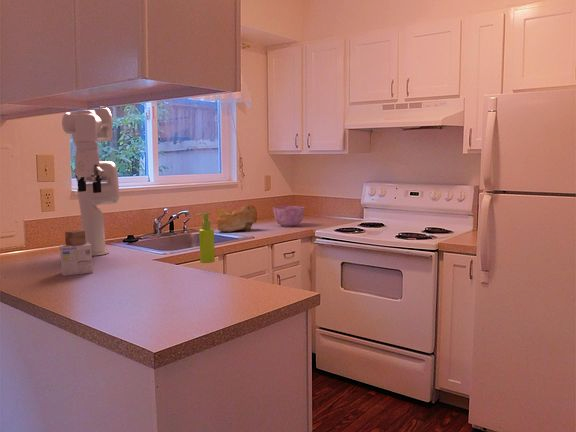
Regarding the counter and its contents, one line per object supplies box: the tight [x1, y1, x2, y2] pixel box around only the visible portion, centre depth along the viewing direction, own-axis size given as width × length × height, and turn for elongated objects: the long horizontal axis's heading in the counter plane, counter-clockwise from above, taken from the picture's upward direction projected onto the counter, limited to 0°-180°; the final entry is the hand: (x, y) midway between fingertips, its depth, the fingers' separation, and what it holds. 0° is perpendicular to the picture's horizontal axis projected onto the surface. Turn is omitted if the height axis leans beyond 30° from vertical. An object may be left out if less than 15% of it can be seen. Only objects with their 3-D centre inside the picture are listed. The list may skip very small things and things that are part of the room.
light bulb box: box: [59, 243, 94, 277], centre depth 193 cm, size 11×7×11 cm, turn 120°
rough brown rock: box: [216, 204, 258, 233], centre depth 302 cm, size 23×17×15 cm
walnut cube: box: [64, 229, 86, 246], centre depth 192 cm, size 5×5×5 cm
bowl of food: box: [272, 205, 306, 228], centre depth 318 cm, size 20×20×12 cm
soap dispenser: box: [195, 212, 216, 264], centre depth 210 cm, size 6×7×20 cm
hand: (89, 192), depth 198 cm, fingers open, 9 cm apart
